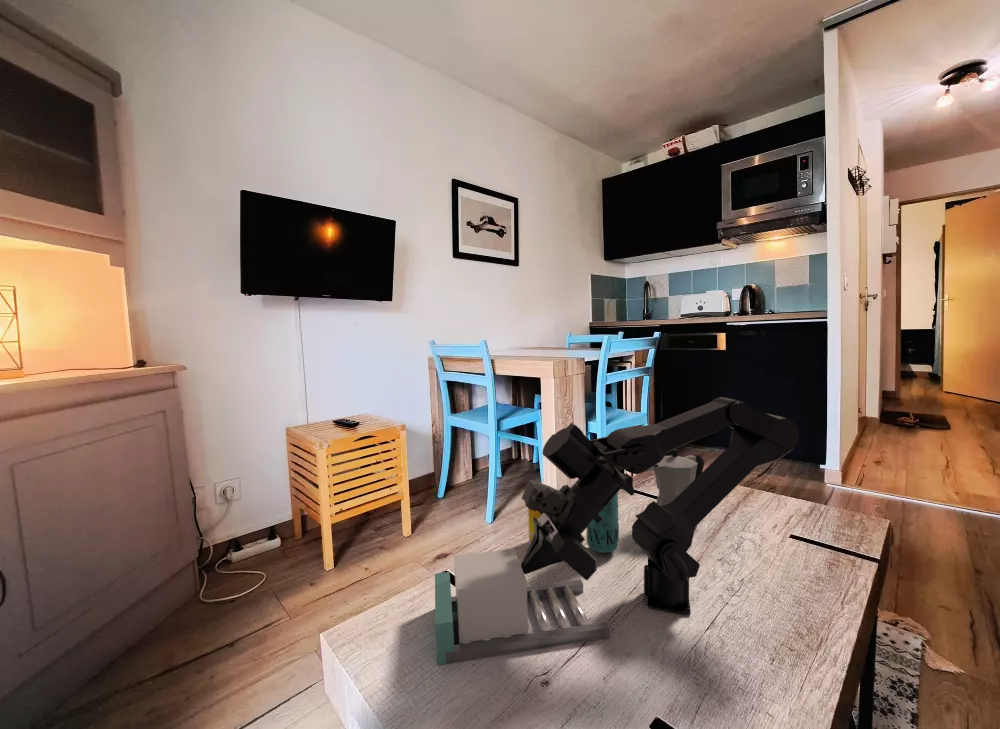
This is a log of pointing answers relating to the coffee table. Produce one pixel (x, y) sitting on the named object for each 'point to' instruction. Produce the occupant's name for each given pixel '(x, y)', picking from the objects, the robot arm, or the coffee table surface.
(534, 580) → the coffee table surface
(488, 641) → the roller bed
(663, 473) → the coffeepot
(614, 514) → the beverage bottle
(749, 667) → the coffee table surface
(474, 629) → the off-white matte cube
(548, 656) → the coffee table surface
